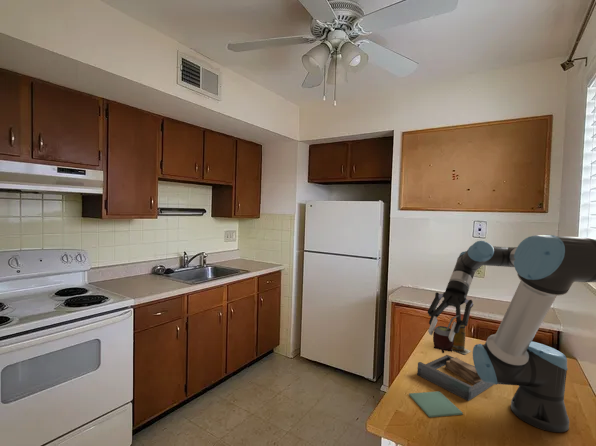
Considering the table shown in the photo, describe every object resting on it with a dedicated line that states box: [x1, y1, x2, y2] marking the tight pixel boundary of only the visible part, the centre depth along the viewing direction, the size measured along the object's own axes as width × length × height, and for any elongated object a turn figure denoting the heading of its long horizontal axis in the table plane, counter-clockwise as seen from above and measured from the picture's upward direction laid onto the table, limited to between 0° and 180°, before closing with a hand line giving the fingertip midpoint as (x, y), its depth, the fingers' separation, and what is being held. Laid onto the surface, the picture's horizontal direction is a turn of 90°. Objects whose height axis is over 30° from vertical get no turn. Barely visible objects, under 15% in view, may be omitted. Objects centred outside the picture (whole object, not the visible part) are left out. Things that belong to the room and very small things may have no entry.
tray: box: [416, 354, 495, 402], centre depth 125 cm, size 20×22×5 cm
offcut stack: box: [445, 357, 482, 385], centre depth 128 cm, size 14×4×5 cm, turn 22°
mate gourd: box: [432, 315, 459, 354], centre depth 117 cm, size 8×8×15 cm
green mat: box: [408, 390, 464, 418], centre depth 107 cm, size 12×12×1 cm
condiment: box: [451, 326, 472, 355], centre depth 152 cm, size 7×8×12 cm
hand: (439, 336), depth 115 cm, fingers closed on mate gourd, 6 cm apart
